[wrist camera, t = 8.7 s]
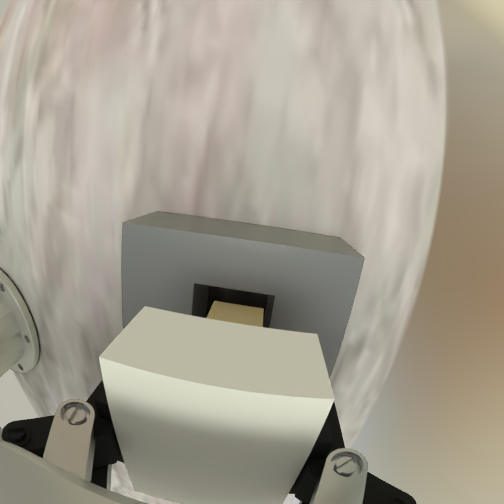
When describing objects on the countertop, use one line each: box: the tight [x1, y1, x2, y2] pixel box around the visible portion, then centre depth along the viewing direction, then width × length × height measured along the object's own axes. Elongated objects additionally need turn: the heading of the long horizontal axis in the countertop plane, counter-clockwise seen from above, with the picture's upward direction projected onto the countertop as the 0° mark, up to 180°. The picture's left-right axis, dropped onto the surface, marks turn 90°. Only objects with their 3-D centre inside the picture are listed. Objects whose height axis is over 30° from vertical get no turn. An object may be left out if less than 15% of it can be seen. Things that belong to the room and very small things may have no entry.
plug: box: [99, 301, 335, 504], centre depth 10 cm, size 7×5×8 cm
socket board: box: [121, 211, 364, 379], centre depth 19 cm, size 24×12×5 cm, turn 172°
